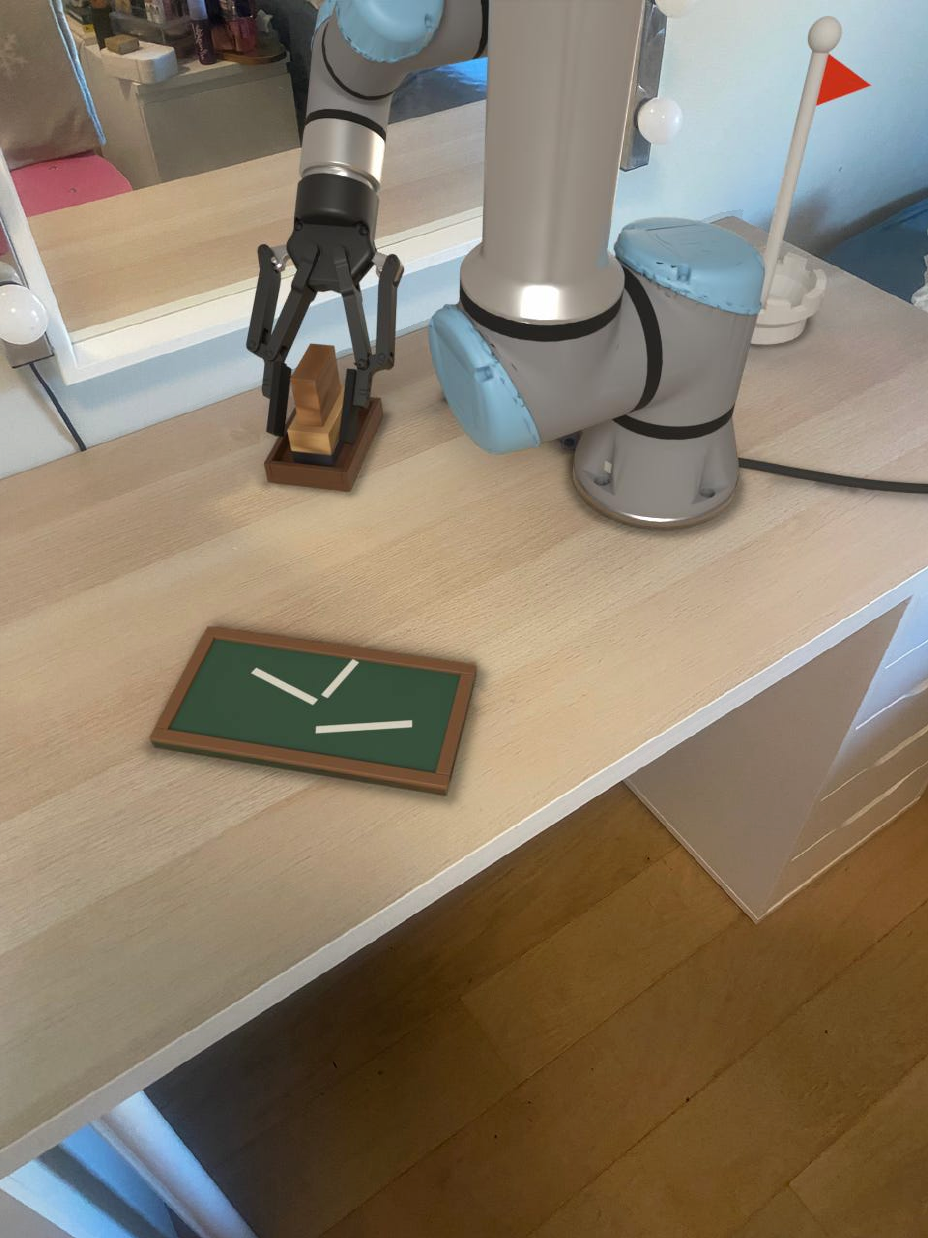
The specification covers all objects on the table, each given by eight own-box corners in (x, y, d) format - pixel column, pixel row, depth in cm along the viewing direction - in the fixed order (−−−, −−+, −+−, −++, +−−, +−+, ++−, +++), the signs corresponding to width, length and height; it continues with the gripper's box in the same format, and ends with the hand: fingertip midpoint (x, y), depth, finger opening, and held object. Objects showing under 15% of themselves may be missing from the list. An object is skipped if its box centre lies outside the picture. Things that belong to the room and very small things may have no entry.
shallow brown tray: (383, 416, 92) (381, 397, 91) (350, 492, 84) (347, 472, 83) (307, 408, 94) (304, 389, 92) (267, 482, 86) (263, 463, 84)
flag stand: (686, 336, 101) (742, 30, 79) (712, 283, 109) (769, -9, 87) (804, 358, 98) (897, 45, 76) (822, 302, 106) (911, 3, 83)
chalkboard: (476, 674, 69) (476, 664, 68) (446, 796, 62) (446, 787, 61) (210, 636, 73) (207, 625, 72) (153, 748, 65) (148, 737, 64)
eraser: (356, 419, 91) (345, 340, 84) (333, 467, 86) (320, 388, 79) (318, 415, 91) (305, 336, 85) (293, 463, 86) (277, 383, 80)
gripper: (448, 210, 85) (418, 454, 86) (255, 197, 87) (230, 434, 89) (433, 175, 77) (401, 443, 79) (223, 162, 80) (196, 421, 81)
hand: (310, 437), depth 84 cm, fingers open, 6 cm apart
